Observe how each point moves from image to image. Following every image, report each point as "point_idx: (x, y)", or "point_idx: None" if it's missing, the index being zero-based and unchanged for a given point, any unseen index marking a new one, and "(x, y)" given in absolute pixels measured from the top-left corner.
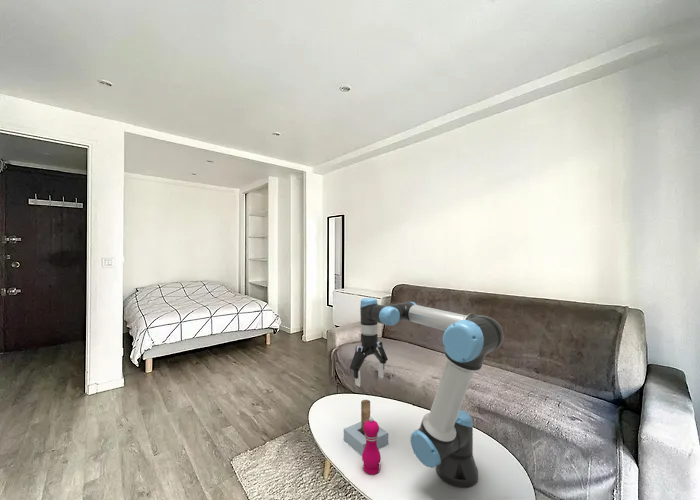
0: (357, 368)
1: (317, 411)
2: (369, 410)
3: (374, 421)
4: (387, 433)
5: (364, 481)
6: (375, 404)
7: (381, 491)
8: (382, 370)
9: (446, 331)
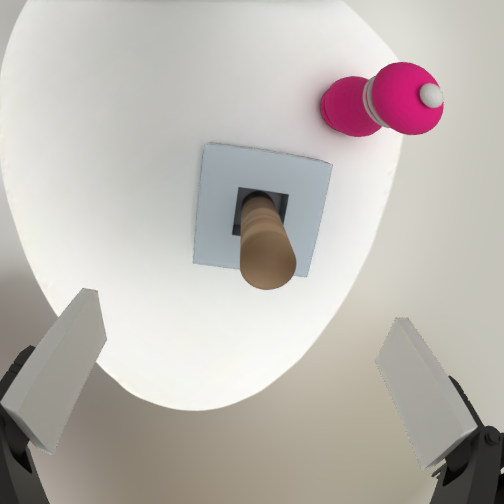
0: (498, 451)
1: (250, 390)
2: (262, 224)
3: (412, 83)
4: (209, 144)
5: None
6: None
7: (381, 49)
8: (54, 346)
9: None
